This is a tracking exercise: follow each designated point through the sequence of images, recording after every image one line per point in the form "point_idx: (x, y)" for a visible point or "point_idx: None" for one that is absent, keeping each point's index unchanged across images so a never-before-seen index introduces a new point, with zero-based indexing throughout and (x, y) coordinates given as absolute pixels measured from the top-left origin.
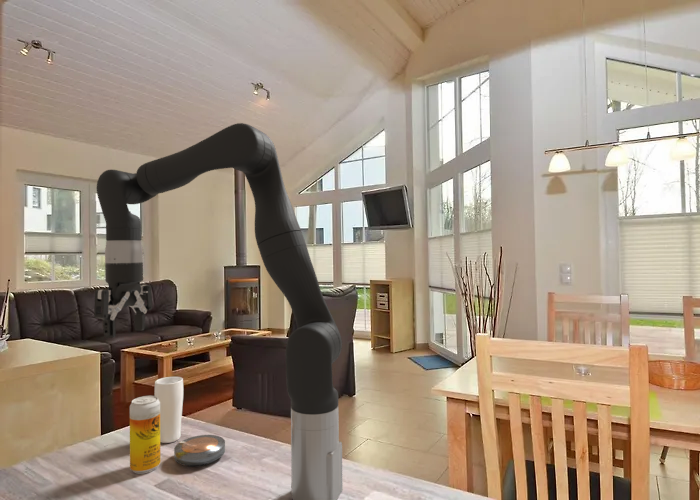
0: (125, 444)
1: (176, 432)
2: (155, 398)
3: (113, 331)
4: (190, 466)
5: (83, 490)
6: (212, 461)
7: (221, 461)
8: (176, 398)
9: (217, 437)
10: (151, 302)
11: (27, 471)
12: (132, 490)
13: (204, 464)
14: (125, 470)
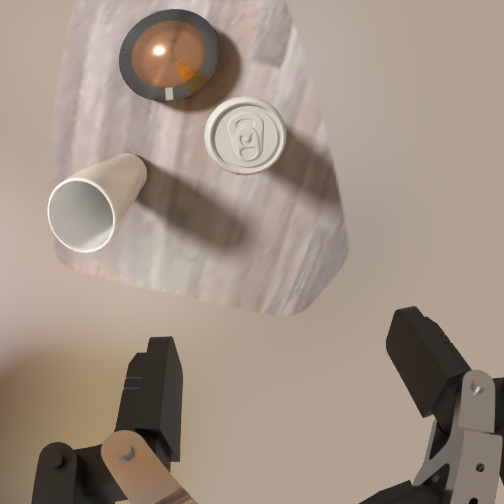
0: (176, 233)
1: (124, 155)
2: (221, 121)
3: (425, 325)
4: None
5: (323, 165)
6: None
7: None
8: (102, 166)
9: (126, 47)
10: (38, 495)
11: (297, 289)
12: (303, 90)
13: None
14: None
